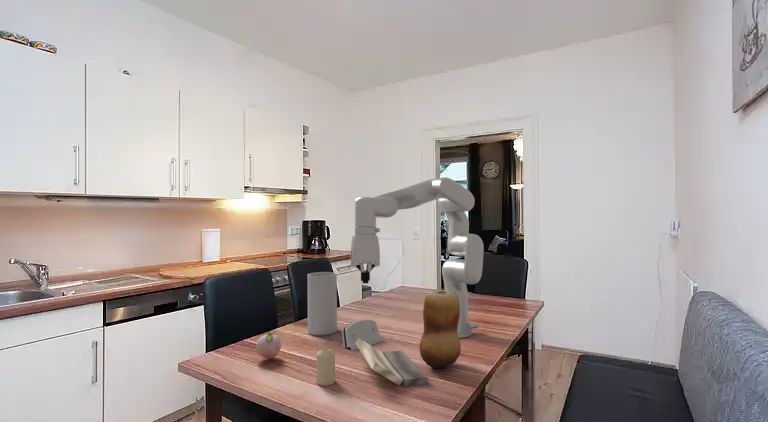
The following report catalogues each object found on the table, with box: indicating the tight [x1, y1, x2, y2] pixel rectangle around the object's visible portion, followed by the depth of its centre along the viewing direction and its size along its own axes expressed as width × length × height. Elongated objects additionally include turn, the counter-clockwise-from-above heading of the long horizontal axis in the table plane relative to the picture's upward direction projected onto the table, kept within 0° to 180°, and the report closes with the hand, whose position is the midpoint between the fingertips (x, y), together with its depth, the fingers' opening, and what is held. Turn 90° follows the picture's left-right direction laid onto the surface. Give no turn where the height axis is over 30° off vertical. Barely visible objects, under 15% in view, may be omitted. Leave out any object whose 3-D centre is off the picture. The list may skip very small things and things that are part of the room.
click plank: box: [356, 338, 403, 386], centre depth 124 cm, size 10×24×2 cm
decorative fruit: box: [255, 330, 282, 361], centre depth 137 cm, size 9×8×10 cm
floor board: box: [382, 349, 428, 387], centre depth 127 cm, size 7×24×2 cm, turn 16°
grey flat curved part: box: [341, 319, 384, 351], centre depth 154 cm, size 17×5×10 cm, turn 134°
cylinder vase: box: [307, 271, 338, 337], centre depth 170 cm, size 12×12×25 cm
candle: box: [316, 346, 336, 387], centre depth 118 cm, size 6×6×10 cm
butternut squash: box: [419, 289, 462, 369], centre depth 129 cm, size 14×13×25 cm
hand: (365, 282), depth 139 cm, fingers closed
